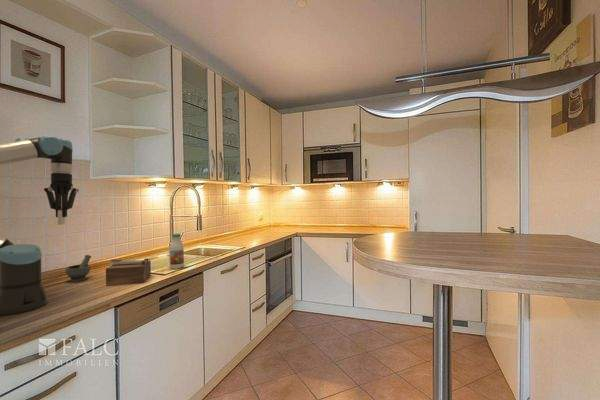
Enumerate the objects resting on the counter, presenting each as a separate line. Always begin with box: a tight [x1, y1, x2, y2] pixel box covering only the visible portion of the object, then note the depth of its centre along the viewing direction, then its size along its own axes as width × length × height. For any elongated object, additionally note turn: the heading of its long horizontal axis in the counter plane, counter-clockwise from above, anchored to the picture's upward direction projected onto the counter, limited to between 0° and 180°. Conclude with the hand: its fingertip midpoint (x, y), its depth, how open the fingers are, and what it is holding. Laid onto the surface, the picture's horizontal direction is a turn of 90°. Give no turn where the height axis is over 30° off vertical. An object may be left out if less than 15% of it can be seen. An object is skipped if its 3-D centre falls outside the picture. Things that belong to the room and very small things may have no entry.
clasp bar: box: [107, 259, 147, 264], centre depth 143 cm, size 4×17×1 cm, turn 105°
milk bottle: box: [168, 233, 185, 270], centre depth 168 cm, size 8×8×20 cm
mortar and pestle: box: [65, 254, 92, 283], centre depth 145 cm, size 11×9×12 cm
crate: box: [105, 258, 152, 287], centre depth 143 cm, size 14×17×10 cm
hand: (61, 224), depth 131 cm, fingers closed
